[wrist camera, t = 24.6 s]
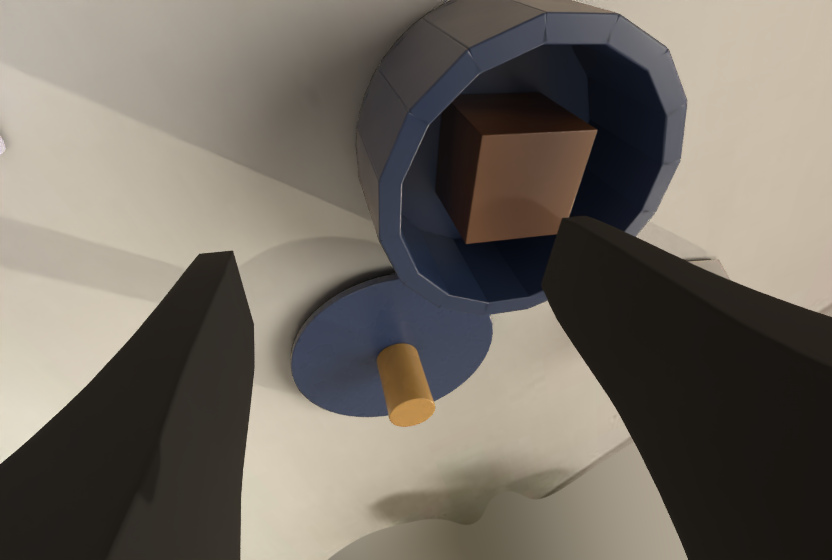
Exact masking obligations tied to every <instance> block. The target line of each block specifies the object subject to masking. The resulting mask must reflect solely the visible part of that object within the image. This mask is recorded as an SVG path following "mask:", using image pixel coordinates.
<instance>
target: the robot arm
mask: <svg viewBox="0 0 832 560" xmlns="http://www.w3.org/2000/svg"><path fill="white" fill-rule="evenodd" d="M5 148H6V146H5V144H4V141H3V139H2V138H1V136H0V155H1V154H2V153H4V152H5ZM541 286H542V289H543V291H544V293H545V295H546V298H547V300H548V302H549V304H550V306H551V308H552V310H553V312H554V314H555V316H556V318H557V320H558V322H559V323H560V325H561V326H562V328H563V330H564V331H565V333H566V334H567V336H568V337H569V339H570V340H571V342H572V343H573V345H574V346H575V348H576V349H577V351H578V352H579V354H580V355H581V357H582V358H583V359H584V361H585V362H586V364H587V365H588V367H589V368H590V370H591V371H592V373H593V374H594V376H595V377H596V379H597V380H598V382H599V383H600V385H601V386H602V388H603V389H604V391H605V392H606V393H607V395H608V397H609V398H610V400H611V401H612V403H613V405H614V406H615V408H616V409H617V411H618V413H619V415H620V416H621V418H622V420H623V422H624V424H625V426H626V428H627V429H628V431H629V433H630V435H631V437H632V439H633V441H634V443H635V444H636V446H637V448H638V450H639V452H640V454H641V456H642V458H643V460H644V462H645V464H646V466H647V468H648V470H649V472H650V474H651V476H652V479H653V480H654V483H655V484H656V487H657V488H658V491H659V493H660V495H661V497H662V500H663V502H664V504H665V506H666V508H667V511H668V513H669V515H670V518H671V520H672V522H673V524H674V526H675V529H676V531H677V533H678V536H679V538H680V540H681V543H682V545H683V548H684V550H685V553H686V555H687V558H688V560H832V317H830V316H826V315H824V314H820V313H817V312H814V311H811V310H808V309H805V308H802V307H799V306H797V305H794V304H791V303H788V302H786V301H783V300H780V299H777V298H775V297H772V296H769V295H766V294H764V293H761V292H758V291H756V290H753V289H751V288H748V287H746V286H743V285H741V284H738V283H736V282H733V281H731V280H729V279H726V278H724V277H722V276H719V275H717V274H715V273H712V272H710V271H708V270H705V269H703V268H701V267H699V266H696V265H694V264H692V263H690V262H688V261H685V260H683V259H681V258H679V257H677V256H675V255H673V254H670V253H668V252H666V251H664V250H662V249H660V248H658V247H656V246H654V245H651V244H649V243H647V242H645V241H643V240H641V239H639V238H637V237H635V236H632V235H630V234H628V233H626V232H624V231H622V230H620V229H617V228H615V227H613V226H611V225H608V224H606V223H604V222H601V221H599V220H596V219H594V218H591V217H588V216H576V217H566V218H562V220H561V223H560V226H559V229H558V232H557V235H556V239H555V242H554V245H553V248H552V251H551V254H550V258H549V261H548V264H547V267H546V270H545V273H544V277H543V280H542V283H541ZM254 368H255V367H254V323H253V320H252V316H251V313H250V309H249V306H248V302H247V299H246V295H245V292H244V288H243V285H242V281H241V277H240V274H239V270H238V267H237V263H236V260H235V256H234V253H233V251H224V252H214V253H204V254H199V255H198V256H197V257H196V258H195V260H194V261H193V262H192V263H191V264H190V266H189V267H188V268H187V269H186V271H185V272H184V273H183V275H182V276H181V277H180V278H179V280H178V281H177V282H176V284H175V285H174V286H173V287H172V289H171V290H170V291H169V292H168V294H167V295H166V296H165V297H164V299H163V300H162V301H161V302H160V304H159V305H158V306H157V307H156V309H155V310H154V311H153V312H152V313H151V315H150V316H149V317H148V318H147V319H146V320H145V322H144V323H143V324H142V325H141V326H140V328H139V329H138V330H137V331H136V332H135V334H134V335H133V336H132V337H131V338H130V339H129V341H128V342H127V343H126V344H125V345H124V346H123V347H122V348H121V349H120V350H119V351H118V353H117V354H116V355H115V356H114V357H113V358H112V359H111V360H110V361H109V362H108V363H107V364H106V366H105V367H104V368H103V369H102V370H101V371H100V372H99V373H98V374H97V375H96V376H95V377H94V378H93V380H92V381H91V382H90V383H89V384H88V385H87V386H86V387H85V388H84V389H83V390H82V391H81V392H80V393H79V394H78V395H77V396H75V397H74V398H73V399H72V400H71V401H70V402H69V403H68V404H67V405H66V406H65V407H64V408H63V409H62V410H61V411H60V412H59V413H58V414H56V415H55V416H54V417H53V418H52V419H51V420H50V421H49V422H48V423H47V424H46V425H45V426H43V427H42V428H41V429H40V430H39V431H38V432H37V433H36V434H35V435H34V436H33V437H31V438H30V439H29V440H28V441H27V442H26V443H25V444H24V445H22V446H21V447H20V448H19V449H18V450H17V451H15V452H14V453H13V454H12V455H11V456H9V457H8V458H7V459H6V460H5V461H3V462H2V463H1V464H0V560H240V536H241V490H242V476H243V466H244V457H245V448H246V440H247V431H248V422H249V414H250V405H251V396H252V387H253V378H254Z"/></svg>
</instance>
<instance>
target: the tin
mask: <svg viewBox="0 0 832 560" xmlns="http://www.w3.org/2000/svg"><path fill="white" fill-rule="evenodd" d="M534 92H540V93H542V94H543V95H545V96H547V97H548V98H550V99H551V100H553V101H554V102H556V103H557V104H559V105H560V106H562V107H563V108H565V109H566V110H568V111H570V112H571V113H573V114H574V115H576V116H577V117H579V118H580V119H582V120H583V121H585V122H586V123H588V124H589V125H591V126H592V127H594V128H596V129H597V133H596V136H595V139H594V142H593V145H592V148H591V152H590V155H589V158H588V161H587V164H586V167H585V170H584V173H583V176H582V179H581V182H580V185H579V188H578V191H577V194H576V197H575V200H574V203H573V206H572V210H571V213H570V216H569V217H576V216H588V217H591V218H594V219H596V220H599V221H601V222H604V223H606V224H608V225H611V226H613V227H615V228H617V229H620V230H622V231H624V232H626V233H628V234H630V235H632V236H635V237H636V235H637V234H638V233H639V232H640V231H641V230H642V228H643V227H644V226H645V225H646V224H647V222H648V221H649V220H650V219H651V218H652V216H653V215H654V214H655V212H656V211H657V209H658V207H659V205H660V203H661V200H662V198H663V196H664V194H665V192H666V190H667V188H668V186H669V184H670V182H671V179H672V177H673V175H674V173H675V171H676V169H677V167H678V165H679V163H680V159H681V152H682V144H683V135H684V127H685V118H686V110H687V98H686V96H685V93H684V90H683V87H682V85H681V82H680V79H679V76H678V73H677V71H676V68H675V65H674V62H673V60H672V57H671V54H670V51H669V49H667V47H666V46H665V45H663V44H662V43H660V42H659V41H658V40H656V39H655V38H653V37H652V36H650V35H649V34H648V33H646V32H645V31H643V30H642V29H641V28H639V27H638V26H636V25H635V24H633V23H632V22H631V21H629V20H628V19H626V18H625V17H624V16H622V15H621V14H618V13H615V12H612V11H608V10H604V9H601V8H597V7H593V6H590V5H586V4H582V3H579V2H575V1H571V0H451V1H449V2H447V3H445V4H443V5H441V6H440V7H438V8H436V9H434V10H433V11H431V12H429V13H428V14H426V15H425V16H424V17H423V18H421V19H420V20H419V21H417V22H416V23H415V24H413V25H412V26H411V27H410V28H409V29H408V30H407V31H406V32H405V33H404V34H403V35H402V36H401V37H400V38H399V39H398V40H397V41H396V42H395V44H394V45H393V46H392V47H391V49H390V50H389V51H388V53H387V54H386V55H385V56H384V58H383V60H382V61H381V63H380V65H379V66H378V68H377V70H376V71H375V73H374V75H373V77H372V79H371V81H370V84H369V86H368V88H367V91H366V93H365V96H364V99H363V103H362V106H361V109H360V113H359V119H358V122H357V138H356V151H357V160H358V174H359V180H360V183H361V186H362V189H363V192H364V195H365V198H366V201H367V204H368V208H369V211H370V214H371V217H372V220H373V223H374V226H375V229H376V232H377V236H378V239H379V242H380V244H381V245H382V247H383V249H384V251H385V253H386V255H387V257H388V259H389V260H390V262H391V264H392V266H393V268H394V270H395V272H396V274H397V276H398V277H399V279H400V281H401V282H402V283H403V284H404V285H406V286H407V287H409V288H410V289H412V290H413V291H415V292H416V293H418V294H419V295H421V296H422V297H424V298H425V299H426V300H428V301H429V302H431V303H432V304H434V305H435V306H437V307H438V308H441V309H447V310H452V311H458V312H463V313H469V314H475V315H480V316H482V315H483V316H484V315H491V314H497V313H504V312H511V311H517V310H524V309H529V308H531V307H534V306H536V305H538V304H541V303H543V302H545V301H547V298H546V295H545V293H544V291H543V289H542V286H541V283H542V280H543V277H544V273H545V270H546V267H547V264H548V261H549V258H550V254H551V251H552V248H553V245H554V242H555V239H556V235H557V234H553V235H544V236H535V237H526V238H517V239H507V240H498V241H489V242H480V243H471V244H465V242H464V240H463V239H462V237H461V235H460V234H459V232H458V230H457V228H456V227H455V225H454V223H453V222H452V220H451V218H450V216H449V215H448V213H447V211H446V210H445V208H444V206H443V204H442V203H441V201H440V199H439V198H438V196H437V194H436V193H435V185H436V174H437V162H438V150H439V139H440V127H441V116H442V111H443V110H444V109H445V108H446V107H447V106H448V105H449V104H450V103H451V102H452V101H453V100H454V99H455V98H456V97H457V96H458V95H459V94H495V93H534Z"/></svg>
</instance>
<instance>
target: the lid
mask: <svg viewBox="0 0 832 560" xmlns="http://www.w3.org/2000/svg"><path fill="white" fill-rule="evenodd" d="M492 335H493V324H492V320H491V316H490V315H484V316H483V315H482V316H480V315H475V314H469V313H463V312H458V311H452V310H447V309H441V308H438V307H437V306H435V305H434V304H432V303H431V302H429V301H428V300H426V299H425V298H424V297H422V296H421V295H419V294H418V293H416V292H415V291H413V290H412V289H410V288H409V287H407V286H406V285H404V284H403V283H402V282H401V281H400V279H399V277H398V276H397V274H394V275H388V276H382V277H379V278H375V279H371V280H368V281H365V282H362V283H360V284H357V285H355V286H352V287H350V288H348V289H346V290H344V291H342V292H340V293H339V294H337V295H336V296H334V297H332V298H331V299H329V300H328V301H326V302H325V303H324V304H323V305H322V306H320V307H319V308H318V309H317V310H316V311H315V312H314V313H313V314H312V315H311V316H310V317H309V318H308V319H307V320H306V322H305V323H304V325H303V326H302V327H301V329H300V330H299V332H298V334H297V336H296V338H295V340H294V344H293V347H292V352H291V370H292V376H293V379H294V381H295V384H296V385H297V387H298V389H299V390H300V391H301V393H302V394H303V395H304V396H305V397H306V398H307V399H309V400H310V401H311V402H312V403H314V404H316V405H317V406H319V407H321V408H323V409H326V410H328V411H331V412H334V413H338V414H342V415H348V416H356V417H378V416H387V415H389V419H390V421H391V422H392V423H393V424H394V425H397V426H402V427H407V426H413V425H416V424H419V423H422V422H423V421H425V420H427V419H428V418H429V417H430V416H431V415H432V414H433V413H434V411H435V404H434V401H436V400H438V399H440V398H441V397H443V396H445V395H447V394H448V393H450V392H451V391H453V390H454V389H456V388H457V387H459V386H460V385H461V384H462V383H463V382H465V381H466V380H467V379H468V378H469V377H470V376H471V375H472V374H473V373H474V372H475V371H476V369H477V368H478V367H479V366H480V364H481V363H482V361H483V360H484V358H485V356H486V354H487V352H488V350H489V347H490V344H491V341H492Z"/></svg>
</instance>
